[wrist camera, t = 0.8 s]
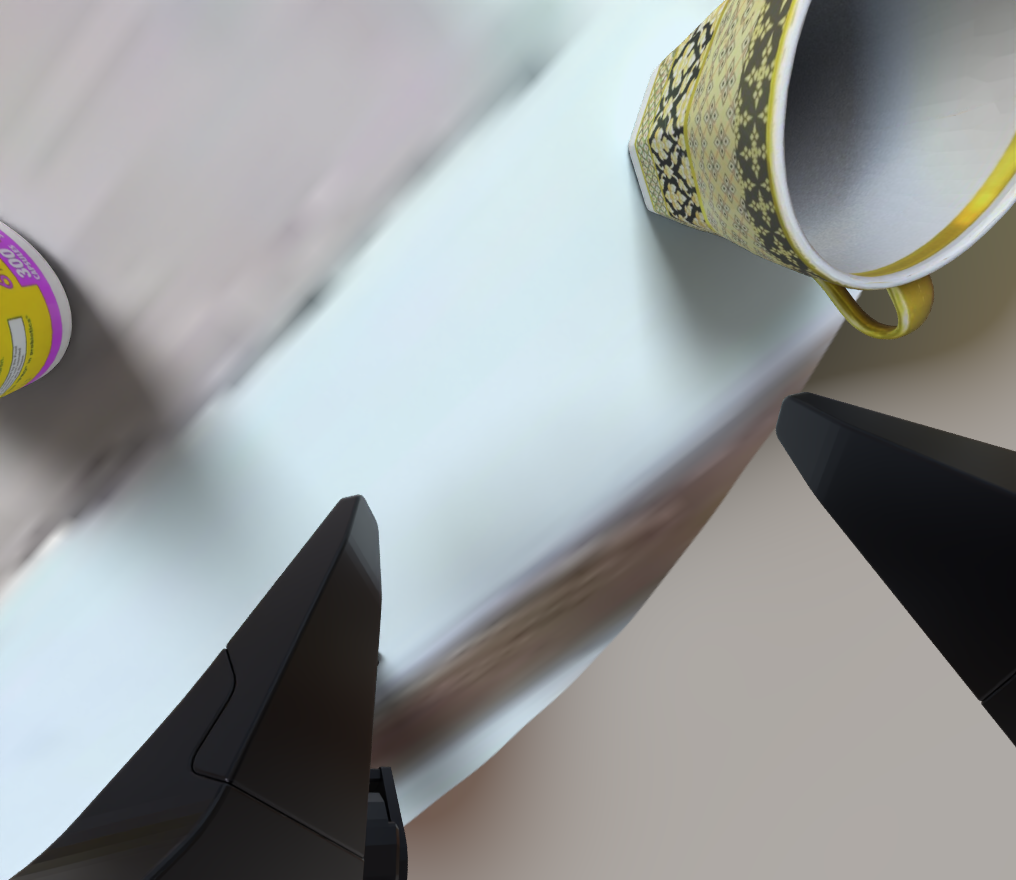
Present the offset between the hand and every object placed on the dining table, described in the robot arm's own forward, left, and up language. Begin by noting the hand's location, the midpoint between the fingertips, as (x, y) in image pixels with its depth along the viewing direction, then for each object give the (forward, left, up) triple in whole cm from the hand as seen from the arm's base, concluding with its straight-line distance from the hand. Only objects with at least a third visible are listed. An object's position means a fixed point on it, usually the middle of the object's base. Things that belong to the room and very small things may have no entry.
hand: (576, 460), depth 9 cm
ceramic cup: (+11, -6, -13) cm, 18 cm away
